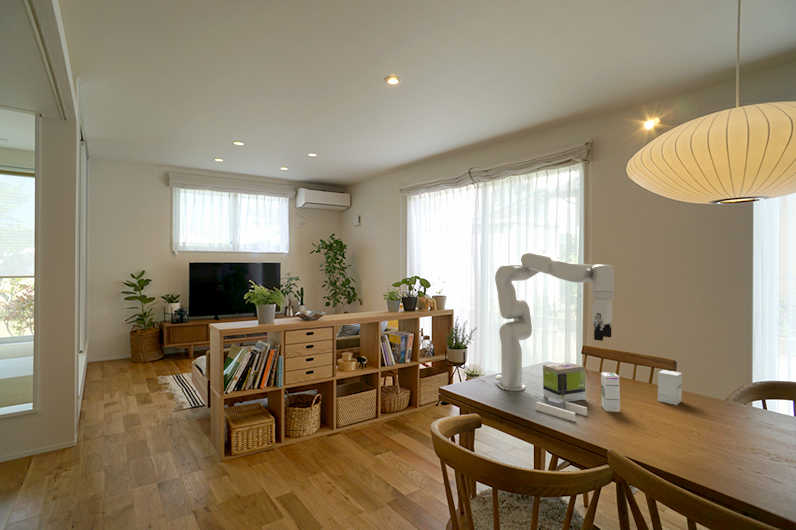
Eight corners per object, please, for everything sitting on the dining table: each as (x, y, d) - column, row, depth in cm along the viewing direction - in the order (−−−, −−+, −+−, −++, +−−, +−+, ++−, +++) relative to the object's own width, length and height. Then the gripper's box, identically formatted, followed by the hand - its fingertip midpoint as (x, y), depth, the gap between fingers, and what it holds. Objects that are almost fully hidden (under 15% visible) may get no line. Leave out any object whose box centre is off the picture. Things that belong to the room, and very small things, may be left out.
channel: (535, 409, 165) (535, 402, 165) (549, 404, 171) (549, 396, 171) (573, 421, 152) (573, 413, 152) (586, 415, 159) (586, 407, 159)
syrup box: (620, 412, 162) (620, 376, 162) (604, 411, 163) (604, 375, 163) (615, 407, 167) (615, 372, 167) (600, 406, 169) (600, 371, 169)
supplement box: (677, 405, 170) (677, 375, 169) (657, 401, 175) (657, 372, 175) (682, 401, 174) (682, 372, 174) (662, 397, 180) (662, 369, 180)
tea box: (569, 393, 186) (569, 361, 186) (586, 400, 176) (586, 366, 176) (542, 396, 181) (542, 363, 181) (557, 404, 172) (557, 369, 172)
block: (547, 410, 164) (547, 399, 164) (553, 408, 167) (553, 397, 167) (558, 414, 160) (558, 403, 160) (565, 411, 163) (565, 400, 163)
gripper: (600, 293, 169) (600, 334, 169) (585, 296, 156) (585, 340, 156) (619, 294, 163) (619, 336, 163) (606, 297, 151) (605, 343, 151)
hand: (602, 338), depth 160 cm, fingers open, 9 cm apart
